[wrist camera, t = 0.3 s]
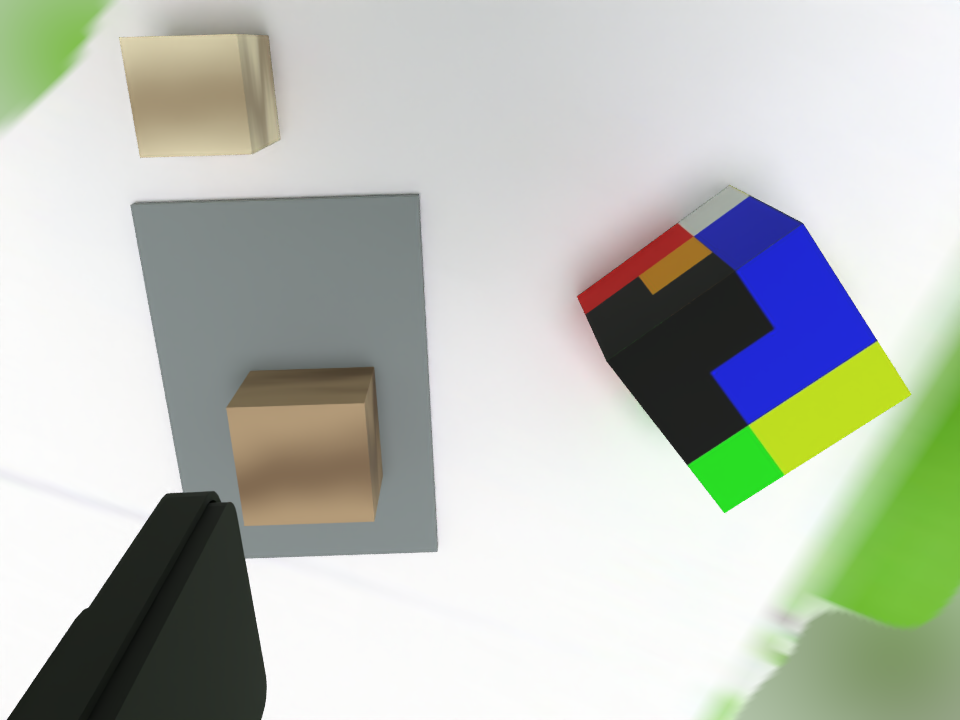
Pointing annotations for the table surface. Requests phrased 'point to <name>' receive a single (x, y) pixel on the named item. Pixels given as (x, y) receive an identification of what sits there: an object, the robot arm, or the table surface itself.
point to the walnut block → (307, 446)
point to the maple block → (201, 94)
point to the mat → (294, 341)
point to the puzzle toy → (741, 344)
